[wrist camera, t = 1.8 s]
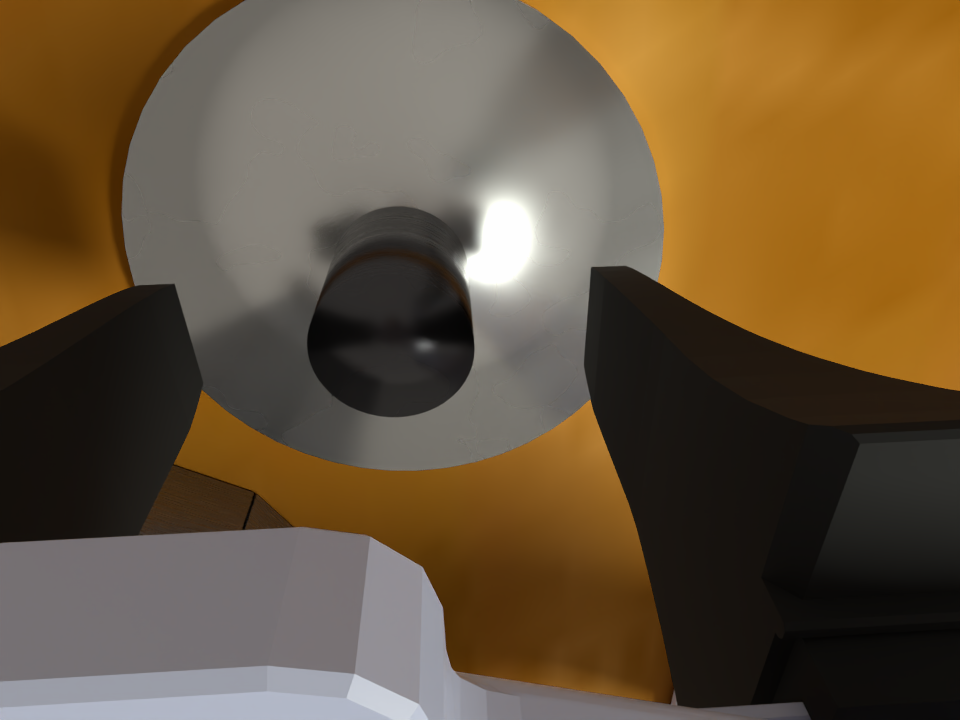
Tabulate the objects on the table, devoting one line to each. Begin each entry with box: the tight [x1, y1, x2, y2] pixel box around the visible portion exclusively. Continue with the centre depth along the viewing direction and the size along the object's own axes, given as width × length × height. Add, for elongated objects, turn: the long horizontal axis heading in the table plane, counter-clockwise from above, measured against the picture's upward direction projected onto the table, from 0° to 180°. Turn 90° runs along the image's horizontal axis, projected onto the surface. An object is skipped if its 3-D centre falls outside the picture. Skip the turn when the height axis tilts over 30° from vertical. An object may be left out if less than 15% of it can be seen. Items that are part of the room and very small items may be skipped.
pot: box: [138, 465, 293, 536], centre depth 17 cm, size 10×13×5 cm
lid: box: [122, 0, 664, 471], centre depth 13 cm, size 11×11×4 cm
